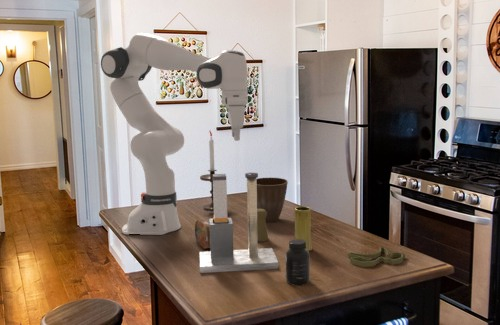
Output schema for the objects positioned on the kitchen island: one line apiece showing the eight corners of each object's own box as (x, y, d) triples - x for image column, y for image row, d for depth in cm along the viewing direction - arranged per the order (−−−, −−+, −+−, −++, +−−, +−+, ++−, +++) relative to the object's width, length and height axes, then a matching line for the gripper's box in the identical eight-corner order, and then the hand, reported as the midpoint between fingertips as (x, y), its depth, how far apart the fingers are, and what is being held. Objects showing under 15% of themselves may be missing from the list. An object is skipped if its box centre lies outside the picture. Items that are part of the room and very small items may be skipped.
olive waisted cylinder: (266, 241, 199) (266, 211, 197) (250, 241, 200) (249, 211, 198) (269, 236, 204) (269, 207, 203) (253, 236, 206) (252, 207, 204)
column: (214, 240, 173) (212, 176, 170) (214, 236, 178) (212, 174, 174) (228, 239, 174) (226, 176, 170) (227, 235, 178) (225, 173, 175)
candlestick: (196, 208, 248) (193, 130, 242) (215, 203, 255) (212, 127, 249) (211, 212, 240) (209, 131, 234) (230, 207, 247) (228, 129, 242)
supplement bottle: (284, 277, 165) (284, 238, 163) (307, 276, 165) (307, 237, 163) (287, 286, 158) (287, 245, 156) (311, 285, 158) (311, 244, 156)
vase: (313, 247, 191) (313, 206, 189) (309, 252, 186) (309, 211, 183) (296, 245, 193) (296, 205, 191) (291, 251, 188) (291, 210, 185)
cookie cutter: (387, 251, 187) (387, 245, 187) (411, 262, 176) (411, 256, 176) (341, 259, 180) (341, 253, 179) (363, 271, 169) (363, 265, 169)
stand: (200, 272, 170) (196, 180, 165) (199, 257, 183) (196, 171, 178) (278, 268, 172) (277, 177, 167) (272, 253, 186) (270, 168, 181)
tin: (194, 240, 203) (193, 217, 201) (202, 238, 204) (202, 216, 202) (207, 252, 189) (206, 228, 187) (215, 250, 190) (215, 227, 188)
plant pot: (295, 220, 225) (295, 181, 223) (265, 226, 217) (264, 186, 214) (273, 212, 238) (272, 176, 235) (244, 218, 229) (243, 180, 227)
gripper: (223, 97, 201) (224, 135, 203) (227, 100, 181) (228, 142, 183) (241, 96, 201) (242, 134, 204) (246, 99, 181) (247, 142, 183)
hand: (235, 138), depth 193 cm, fingers open, 8 cm apart
